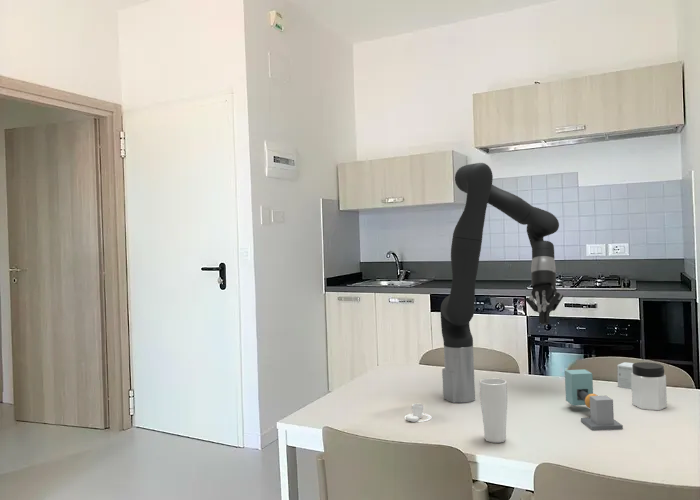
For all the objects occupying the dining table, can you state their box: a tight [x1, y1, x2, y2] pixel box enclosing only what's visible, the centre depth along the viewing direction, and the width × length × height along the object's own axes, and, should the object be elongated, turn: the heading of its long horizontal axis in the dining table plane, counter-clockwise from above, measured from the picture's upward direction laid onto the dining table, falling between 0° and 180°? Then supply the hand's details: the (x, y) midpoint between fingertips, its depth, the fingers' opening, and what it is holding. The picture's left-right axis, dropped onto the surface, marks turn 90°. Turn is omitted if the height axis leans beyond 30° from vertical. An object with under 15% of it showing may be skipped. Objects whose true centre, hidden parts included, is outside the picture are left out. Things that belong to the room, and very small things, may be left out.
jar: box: [631, 361, 668, 411], centre depth 162 cm, size 9×8×12 cm
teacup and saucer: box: [403, 402, 433, 423], centre depth 160 cm, size 9×8×4 cm
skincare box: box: [616, 361, 635, 390], centre depth 183 cm, size 6×6×7 cm
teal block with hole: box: [564, 369, 594, 406], centre depth 161 cm, size 5×6×9 cm
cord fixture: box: [577, 389, 624, 431], centre depth 155 cm, size 23×8×8 cm, turn 0°
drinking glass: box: [479, 377, 508, 444], centre depth 140 cm, size 7×7×15 cm
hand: (544, 324), depth 175 cm, fingers closed
